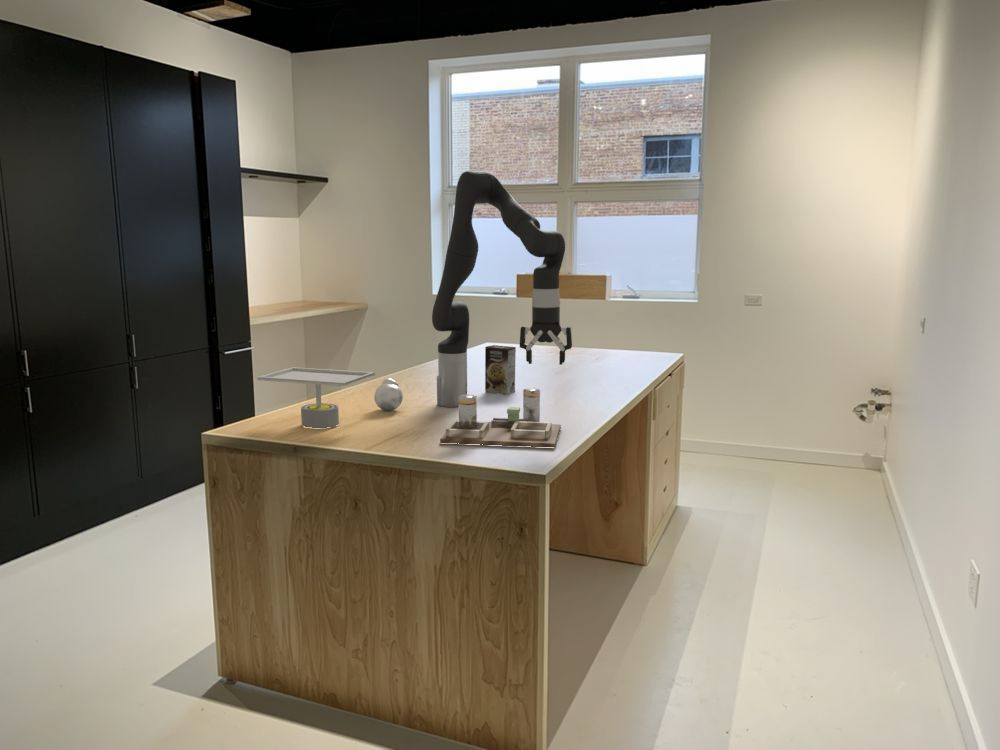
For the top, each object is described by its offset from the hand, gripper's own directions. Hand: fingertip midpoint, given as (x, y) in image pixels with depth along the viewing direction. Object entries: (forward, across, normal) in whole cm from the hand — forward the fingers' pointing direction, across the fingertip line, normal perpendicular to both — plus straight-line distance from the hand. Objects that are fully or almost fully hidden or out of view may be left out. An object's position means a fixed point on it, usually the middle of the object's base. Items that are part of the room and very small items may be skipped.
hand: (545, 363), depth 206 cm
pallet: (+19, -11, -9) cm, 23 cm away
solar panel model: (+19, -65, -5) cm, 68 cm away
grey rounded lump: (+19, -51, +17) cm, 57 cm away
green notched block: (+17, -9, -2) cm, 19 cm away
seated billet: (+17, -20, -12) cm, 29 cm away
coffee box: (+19, -21, +50) cm, 58 cm away
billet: (+19, -5, +7) cm, 21 cm away
